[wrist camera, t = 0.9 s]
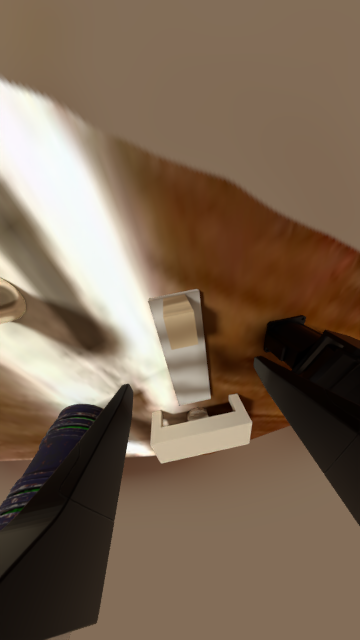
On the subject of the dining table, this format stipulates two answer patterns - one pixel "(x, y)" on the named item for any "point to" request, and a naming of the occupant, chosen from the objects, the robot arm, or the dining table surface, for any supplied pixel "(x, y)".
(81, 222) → the dining table surface
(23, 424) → the dining table surface
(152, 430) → the cream bridge block
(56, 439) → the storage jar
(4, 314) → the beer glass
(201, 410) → the disc
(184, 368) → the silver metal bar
